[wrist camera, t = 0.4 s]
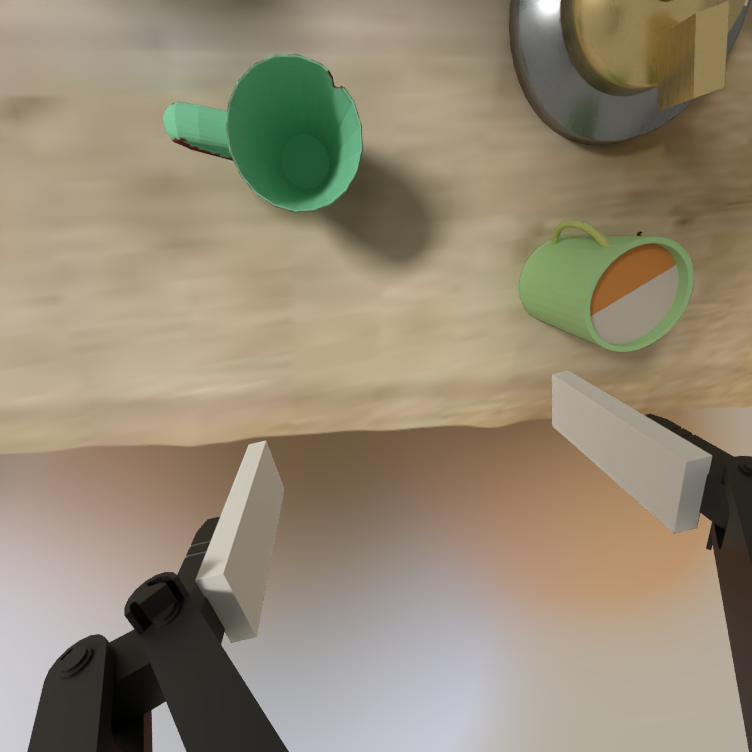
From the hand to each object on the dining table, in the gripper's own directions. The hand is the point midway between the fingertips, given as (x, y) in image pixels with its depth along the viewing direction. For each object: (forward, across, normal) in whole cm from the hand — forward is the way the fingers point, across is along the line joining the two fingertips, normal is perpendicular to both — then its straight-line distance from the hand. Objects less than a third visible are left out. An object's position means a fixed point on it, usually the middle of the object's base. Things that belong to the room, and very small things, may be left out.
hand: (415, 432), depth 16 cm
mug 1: (+28, -5, +16) cm, 32 cm away
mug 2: (+28, +23, 0) cm, 36 cm away
